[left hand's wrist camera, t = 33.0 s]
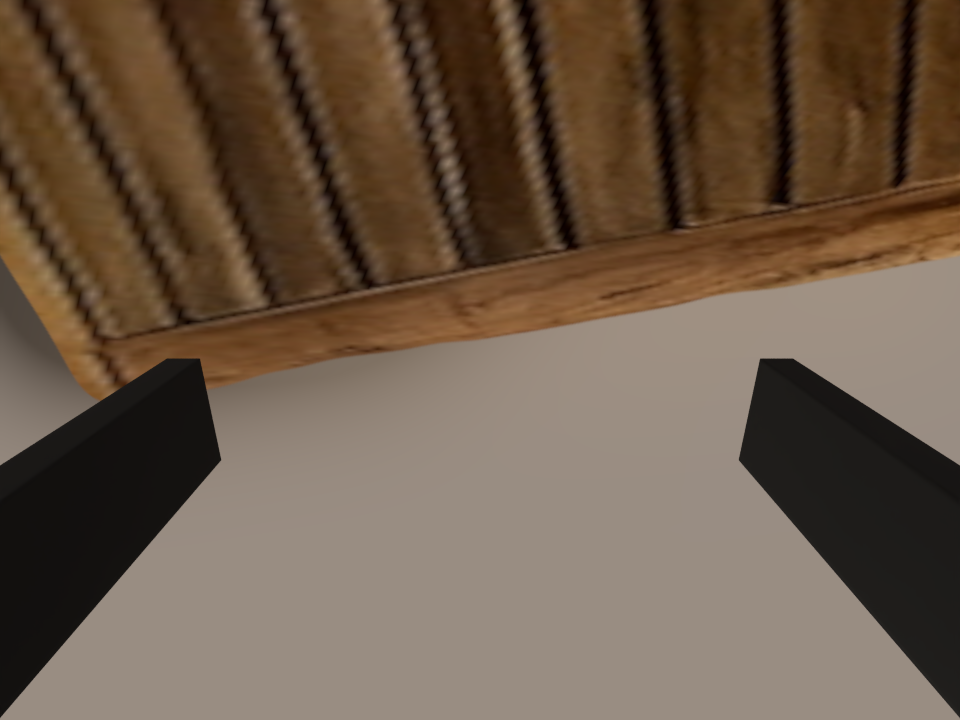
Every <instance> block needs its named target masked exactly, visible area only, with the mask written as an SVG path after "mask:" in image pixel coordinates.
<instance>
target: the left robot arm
mask: <svg viewBox="0 0 960 720" xmlns="http://www.w3.org/2000/svg"><path fill="white" fill-rule="evenodd" d="M220 461H221V457H220V452H219V447H218V442H217V438H216V433H215V428H214V424H213V419H212V414H211V409H210V405H209V400H208V395H207V390H206V386H205V381H204V376H203V371H202V367H201V362H200V359H166V360H164V361H163V362H161V363H159V364H158V365H156V366H155V367H153V368H152V369H150V370H149V371H147V372H145V373H144V374H142V375H141V376H139V377H138V378H136V379H134V380H133V381H131V382H130V383H128V384H127V385H125V386H124V387H122V388H120V389H119V390H117V391H116V392H114V393H113V394H111V395H110V396H108V397H106V398H105V399H103V400H102V401H100V402H99V403H97V404H95V405H94V406H92V407H91V408H89V409H88V410H86V411H85V412H83V413H81V414H80V415H78V416H77V417H75V418H74V419H72V420H70V421H69V422H67V423H66V424H64V425H63V426H61V427H60V428H58V429H56V430H55V431H53V432H52V433H50V434H49V435H47V436H45V437H44V438H42V439H41V440H39V441H38V442H36V443H35V444H33V445H31V446H30V447H28V448H27V449H25V450H24V451H22V452H20V453H19V454H17V455H16V456H14V457H13V458H11V459H10V460H8V461H6V462H5V463H3V464H2V465H0V717H1V716H2V715H3V714H4V713H5V712H6V710H7V709H8V708H9V707H10V706H11V705H12V703H13V702H14V701H15V700H16V699H17V697H18V696H19V695H20V694H21V693H22V692H23V691H24V689H25V688H26V687H27V686H28V685H29V684H30V682H31V681H32V680H33V679H34V678H35V676H36V675H37V674H38V673H39V672H40V671H41V670H42V668H43V667H44V666H45V665H46V664H47V663H48V661H49V660H50V659H51V658H52V657H53V656H54V654H55V653H56V652H57V651H58V650H59V649H60V647H61V646H62V645H63V644H64V643H65V642H66V640H67V639H68V638H69V637H70V636H71V635H72V633H73V632H74V631H75V630H76V629H77V628H78V626H79V625H80V624H81V623H82V622H83V620H84V619H85V618H86V617H87V616H88V615H89V614H90V612H91V611H92V610H93V609H94V608H95V607H96V605H97V604H98V603H99V602H100V601H101V600H102V598H103V597H104V596H105V595H106V594H107V593H108V591H109V590H110V589H111V588H112V587H113V586H114V584H115V583H116V582H117V581H118V580H119V579H120V577H121V576H122V575H123V574H124V573H125V572H126V570H127V569H128V568H129V567H130V566H131V565H132V563H133V562H134V561H135V560H136V559H137V558H138V556H139V555H140V554H141V553H142V552H143V551H144V549H145V548H146V547H147V546H148V545H149V544H150V542H151V541H152V540H153V539H154V538H155V537H156V535H157V534H158V533H159V532H160V531H161V530H162V528H163V527H164V526H165V525H166V524H167V523H168V521H169V520H170V519H171V518H172V517H173V516H174V514H175V513H176V512H177V511H178V510H179V509H180V507H181V506H182V505H183V504H184V503H185V502H186V500H187V499H188V498H189V497H190V496H191V495H192V494H193V492H194V491H195V490H196V489H197V488H198V486H199V485H200V484H201V483H202V482H203V481H204V479H205V478H206V477H207V476H208V475H209V474H210V472H211V471H212V470H213V469H214V468H215V467H216V465H217V464H218V463H219V462H220ZM739 461H740V462H741V463H742V464H743V465H744V467H745V468H746V469H747V470H748V471H749V473H750V474H751V475H752V476H753V477H754V478H755V480H756V481H757V482H758V483H759V484H760V485H761V486H762V488H763V489H764V490H765V491H766V492H767V493H768V495H769V496H770V497H771V498H772V499H773V500H774V502H775V503H776V504H777V505H778V506H779V507H780V509H781V510H782V511H783V512H784V513H785V514H786V516H787V517H788V518H789V519H790V520H791V521H792V523H793V524H794V525H795V526H796V527H797V528H798V530H799V531H800V532H801V533H802V534H803V535H804V537H805V538H806V539H807V540H808V541H809V542H810V544H811V545H812V546H813V547H814V548H815V549H816V551H817V552H818V553H819V554H820V555H821V556H822V558H823V559H824V560H825V561H826V562H827V563H828V565H829V566H830V567H831V568H832V569H833V570H834V572H835V573H836V574H837V575H838V576H839V577H840V579H841V580H842V581H843V582H844V583H845V584H846V586H847V587H848V588H849V589H850V590H851V591H852V593H853V594H854V595H855V596H856V597H857V598H858V600H859V601H860V602H861V603H862V604H863V605H864V607H865V608H866V609H867V610H868V611H869V612H870V614H871V615H872V616H873V617H874V618H875V619H876V621H877V622H878V623H879V624H880V625H881V626H882V628H883V629H884V630H885V631H886V632H887V633H888V635H889V636H890V637H891V638H892V639H893V640H894V642H895V643H896V644H897V645H898V646H899V647H900V649H901V650H902V651H903V652H904V653H905V654H906V656H907V657H908V658H909V659H910V660H911V661H912V663H913V664H914V665H915V666H916V667H917V668H918V670H919V671H920V672H921V673H922V674H923V675H924V676H925V678H926V679H927V680H928V681H929V682H930V684H931V685H932V686H933V687H934V688H935V689H936V691H937V692H938V693H939V694H940V695H941V696H942V698H943V699H944V700H945V701H946V702H947V703H948V705H949V706H950V707H951V708H952V709H953V710H954V711H955V713H956V714H957V715H958V716H959V717H960V465H958V464H957V463H955V462H954V461H952V460H950V459H949V458H947V457H946V456H944V455H943V454H941V453H940V452H938V451H936V450H935V449H933V448H932V447H930V446H929V445H927V444H925V443H924V442H922V441H921V440H919V439H918V438H916V437H915V436H913V435H911V434H910V433H908V432H907V431H905V430H904V429H902V428H900V427H899V426H897V425H896V424H894V423H893V422H891V421H890V420H888V419H886V418H885V417H883V416H882V415H880V414H879V413H877V412H875V411H874V410H872V409H871V408H869V407H868V406H866V405H864V404H863V403H861V402H860V401H858V400H857V399H855V398H854V397H852V396H850V395H849V394H847V393H846V392H844V391H843V390H841V389H840V388H838V387H836V386H835V385H833V384H832V383H830V382H829V381H827V380H825V379H824V378H822V377H821V376H819V375H818V374H816V373H815V372H813V371H811V370H810V369H808V368H807V367H805V366H804V365H802V364H800V363H799V362H797V361H796V360H794V359H760V362H759V367H758V371H757V376H756V381H755V386H754V390H753V395H752V400H751V405H750V409H749V414H748V419H747V424H746V428H745V433H744V438H743V442H742V447H741V452H740V457H739Z"/></svg>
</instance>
